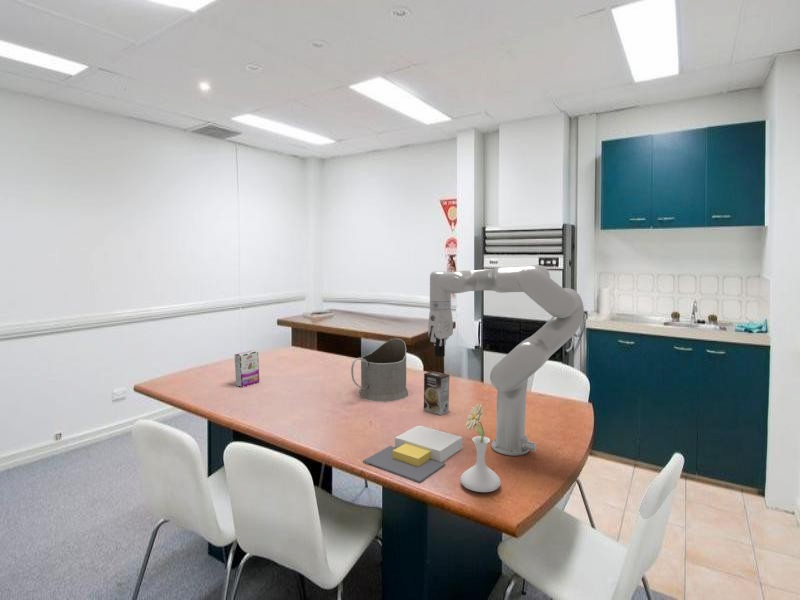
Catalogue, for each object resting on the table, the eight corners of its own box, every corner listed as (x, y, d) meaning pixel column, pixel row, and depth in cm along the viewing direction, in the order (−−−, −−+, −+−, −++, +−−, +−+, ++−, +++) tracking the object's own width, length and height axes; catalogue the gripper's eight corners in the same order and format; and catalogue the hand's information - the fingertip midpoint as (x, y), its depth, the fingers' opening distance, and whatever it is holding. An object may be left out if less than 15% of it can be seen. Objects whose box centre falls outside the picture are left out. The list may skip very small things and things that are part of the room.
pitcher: (418, 393, 217) (418, 341, 215) (370, 410, 194) (370, 352, 191) (383, 384, 233) (382, 335, 230) (335, 398, 209) (334, 345, 207)
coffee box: (423, 410, 193) (423, 373, 192) (432, 406, 198) (432, 370, 196) (440, 415, 187) (440, 377, 186) (449, 411, 192) (450, 374, 190)
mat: (445, 465, 143) (445, 463, 143) (419, 483, 132) (419, 481, 132) (390, 447, 157) (390, 445, 156) (362, 462, 145) (362, 460, 145)
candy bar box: (253, 381, 238) (252, 350, 237) (259, 382, 236) (258, 351, 234) (235, 386, 229) (233, 354, 227) (241, 387, 226) (240, 355, 225)
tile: (430, 458, 147) (430, 451, 146) (418, 466, 141) (418, 458, 141) (405, 450, 153) (405, 443, 152) (392, 457, 147) (392, 450, 147)
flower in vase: (463, 474, 138) (464, 393, 135) (502, 479, 134) (504, 396, 132) (456, 496, 125) (457, 407, 123) (498, 502, 122) (500, 411, 119)
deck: (462, 448, 156) (462, 437, 155) (440, 463, 145) (440, 451, 144) (418, 435, 167) (418, 425, 166) (395, 448, 155) (395, 437, 155)
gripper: (437, 308, 155) (437, 361, 157) (459, 304, 167) (459, 354, 169) (419, 307, 160) (419, 358, 162) (442, 303, 172) (441, 351, 174)
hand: (439, 356), depth 165 cm, fingers closed
